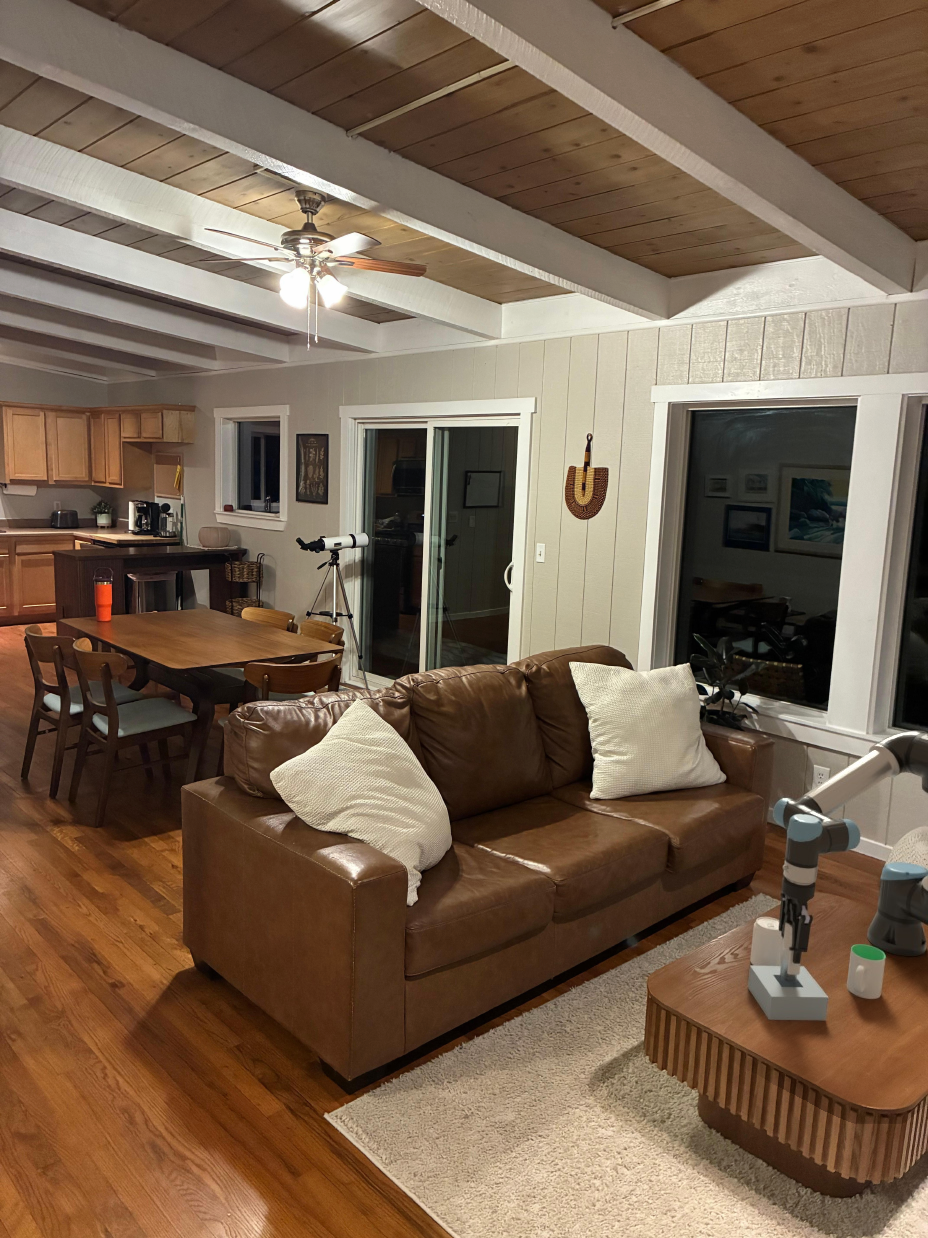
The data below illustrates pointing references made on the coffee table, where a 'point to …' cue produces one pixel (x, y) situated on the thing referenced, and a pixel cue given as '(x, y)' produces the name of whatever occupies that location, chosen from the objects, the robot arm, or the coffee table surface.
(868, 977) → the mug
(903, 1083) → the coffee table surface
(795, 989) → the socket block
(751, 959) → the beverage can
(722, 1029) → the coffee table surface
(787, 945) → the peg
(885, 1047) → the coffee table surface
